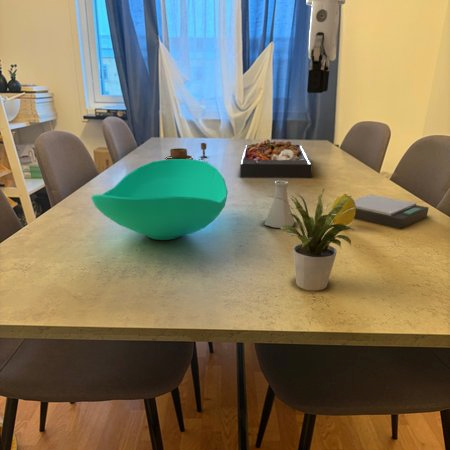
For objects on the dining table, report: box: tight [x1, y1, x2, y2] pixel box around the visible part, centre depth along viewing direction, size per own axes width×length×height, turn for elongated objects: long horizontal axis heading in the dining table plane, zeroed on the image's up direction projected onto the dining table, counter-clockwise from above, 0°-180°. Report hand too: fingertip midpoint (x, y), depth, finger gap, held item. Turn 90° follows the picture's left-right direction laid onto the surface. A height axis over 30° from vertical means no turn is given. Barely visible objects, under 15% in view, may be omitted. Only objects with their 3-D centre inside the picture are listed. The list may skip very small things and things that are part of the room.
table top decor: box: [90, 159, 229, 241], centre depth 94 cm, size 40×28×13 cm
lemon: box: [330, 193, 356, 226], centre depth 99 cm, size 6×6×8 cm
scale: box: [353, 194, 429, 230], centre depth 108 cm, size 16×14×3 cm
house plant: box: [269, 187, 357, 292], centre depth 70 cm, size 14×14×16 cm
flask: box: [263, 180, 295, 229], centre depth 101 cm, size 7×7×10 cm
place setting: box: [164, 142, 208, 160], centre depth 181 cm, size 18×20×6 cm
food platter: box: [239, 139, 313, 179], centre depth 169 cm, size 45×25×10 cm, turn 175°
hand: (317, 92), depth 92 cm, fingers open, 9 cm apart
